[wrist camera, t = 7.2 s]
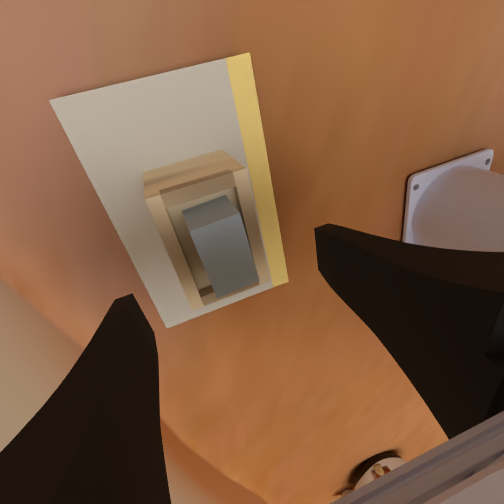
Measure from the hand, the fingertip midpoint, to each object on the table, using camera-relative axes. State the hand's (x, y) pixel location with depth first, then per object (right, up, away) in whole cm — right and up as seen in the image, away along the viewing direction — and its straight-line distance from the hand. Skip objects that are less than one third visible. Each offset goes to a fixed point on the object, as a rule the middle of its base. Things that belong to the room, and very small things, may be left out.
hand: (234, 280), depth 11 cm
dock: (-3, +4, +7) cm, 9 cm away
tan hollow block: (-2, +3, +5) cm, 7 cm away
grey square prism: (-1, +2, +2) cm, 3 cm away
